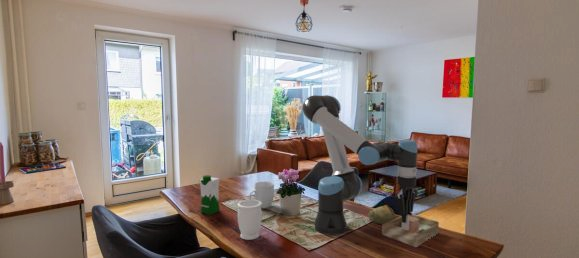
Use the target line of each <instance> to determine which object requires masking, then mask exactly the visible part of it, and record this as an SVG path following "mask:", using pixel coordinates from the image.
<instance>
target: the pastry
mask: <svg viewBox="0 0 579 258" xmlns="http://www.w3.org/2000/svg"><path fill="white" fill-rule="evenodd" d="M368 218H369V221H371V222H372V223H374V224H379V225H383V224H385V223H387V222H389V221H391V220H394V219H396V218H397V215H396V214H395V212H394V209H393V208H391V207H390V206H389V205H388V204H385V205H383V206H382V205H381V206H378V207H376V208H373V209H372V210H369V212H368Z"/></svg>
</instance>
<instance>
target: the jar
mask: <svg viewBox="0 0 579 258" xmlns="http://www.w3.org/2000/svg"><path fill="white" fill-rule="evenodd" d="M261 205H262V203H261V202H260V201H258V200H255V199H251V200H249V199H245V200H240V201H239V202H237V205H236V206H237V208H238V210H237V223H238V229H239V231H240V238H241V239H243V240H246V241H247V240H248V241H249V240H250V241H251V240H255V239H258V238H259V237H260V234H261V233H260V230H261V227H262V220H263V213H262V212H263V211H262V208H261Z"/></svg>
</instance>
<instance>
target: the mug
mask: <svg viewBox="0 0 579 258" xmlns="http://www.w3.org/2000/svg"><path fill="white" fill-rule="evenodd" d="M253 193H254V198H255V199H254V200H258V201H260V202H261V203H262V205H261V209H268V208H270V207H271V206H272V204H273V202H274V197H275V183H274V182H271V181H257V182H255V183H254V189H253V190H252V189H251V191H250V192H249V193H248V200H252V198H251V197H252V194H253Z"/></svg>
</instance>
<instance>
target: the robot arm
mask: <svg viewBox="0 0 579 258" xmlns="http://www.w3.org/2000/svg"><path fill="white" fill-rule="evenodd" d="M341 106H342V105H341V104H340V101H339V99H337V98H336V97H334V96H333V95H327V94H326V95H315V94H314V95H310V96H308V97H306V99H304V101H303V103H302V112H303V114H304V116H305V118H306V119H308V120H309V122H311V123H312V124H314V125H318V126H320V127H321V130H322V133H323V137H324V141H325V144H326V148H327V153H328V156H329V160H330V163H331V167H332V174H331V176H325V177H323V178H321V179H320V180H319V181H318V187H317V191H318V201H317V202H318V206H317V208H318V210H317V213H316V216H315V220H314V229H315V230H316V231H317V232H319V233H321V234H327V235H328V234H329V235H339V234H342V233H345V232H346V231H347V230H348V224H347V221H346V218H345V214H344V202H348V201H349V200H352V199H354V198H356V197H358V196H359V195H360V194H361V192H362V189H363V182H362V179H361V177H360V176H358V175H357V174H356V172H355V169H354V168H352V167H351V166H350V162H349V159H348V156H347V154H348V153H347V151H346V148H348V149H349V150H351V151H352V152H354V153H355V154H356V155H357V156H358V160H359V162H360V163H361V164H362V165H365V166H370V165H371V166H372V165H376V164H377V163H381V162H384V161H393V162H397V185H399V190H398V191H399V192H398V193H396V194H395V196H396V200H397V201H396V202H397V207H398V208H397V209H398V215H401V216H402V229H405V230H409V216H410V215H412V214H413V211H414V205H415V198H416V193H417V189H414V187H416V186H417V177H416V176H417V172H418V169H417V166H418V165H417V161H418V142H417V141H416V140H413V139H400V140H398V143H389V142H382V141H379V142H377V141H376V142H373V143H371V142H370V141H369V140H367V139H366V138H365V137H364V136H362V135H361V134H359V133H358V132H356V131H355V130H353V128H352V127H349V126H348V125H347V124H345V122H343V121H341V120H340V115H339V114H340V112H341ZM345 146H346V147H345ZM409 214H410V215H409Z"/></svg>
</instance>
